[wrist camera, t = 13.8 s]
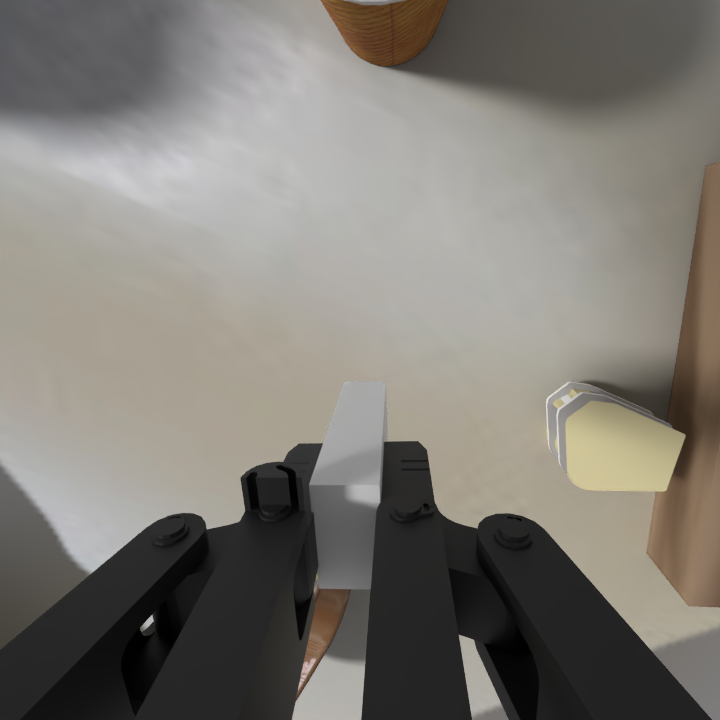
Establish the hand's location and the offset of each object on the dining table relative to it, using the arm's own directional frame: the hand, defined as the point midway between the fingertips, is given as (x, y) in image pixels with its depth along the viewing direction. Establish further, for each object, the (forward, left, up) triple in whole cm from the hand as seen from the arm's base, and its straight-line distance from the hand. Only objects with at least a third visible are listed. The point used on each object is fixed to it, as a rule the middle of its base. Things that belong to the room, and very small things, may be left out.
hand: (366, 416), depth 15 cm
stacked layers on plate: (+14, -7, -16) cm, 23 cm away
